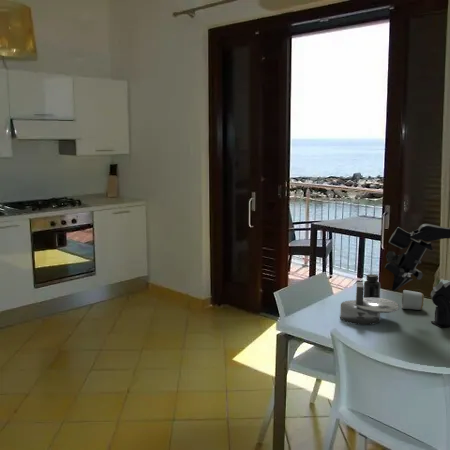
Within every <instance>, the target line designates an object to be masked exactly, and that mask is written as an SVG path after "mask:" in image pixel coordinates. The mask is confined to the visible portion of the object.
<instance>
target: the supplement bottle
mask: <svg viewBox="0 0 450 450" xmlns="http://www.w3.org/2000/svg"><path fill="white" fill-rule="evenodd" d="M363 286H364V290H363V298H367V297H374V298H381V282H380V281H379V275H378V274H373V273H369V274H366V280H365V281H364V282H363Z"/></svg>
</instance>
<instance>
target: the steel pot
mask: <svg viewBox="0 0 450 450" xmlns="http://www.w3.org/2000/svg"><path fill="white" fill-rule="evenodd" d="M355 301H356V299H355V300H353V299H352V300H346V301H345V300H344V301H342V302H341V303H340V313H339V317H340V319H341V320H342V321H343V322H346V323H349V324H353V325H354V324H355V325H362V326H366V325H367V326H368V325H375V324H378V323H380V321H381V313H376V312H369V311H365V310H362V309H359V308H357V307H356V306H355Z"/></svg>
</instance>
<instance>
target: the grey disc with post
mask: <svg viewBox="0 0 450 450" xmlns="http://www.w3.org/2000/svg"><path fill="white" fill-rule="evenodd" d="M355 291H356V292H355V300H356V301H355V306H356V307H357V308H359V309H362V310H365V311H369V312H376V313H380V314H390V313H395V312H397V311H398V310H399V304H398V302H396V301H394V300H391V299H388V298H382V297H380V298H374V297H367V298H364V282H363V281H356V289H355Z"/></svg>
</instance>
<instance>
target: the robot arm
mask: <svg viewBox="0 0 450 450" xmlns="http://www.w3.org/2000/svg"><path fill="white" fill-rule="evenodd" d="M443 239H448V240H449V239H450V227H444V226H440V225H436V224H431V223H423V224H421V225H420V226H419V227H418V229H416V230H414V231H413V230H412V231H411V232H408V231H406V230H404V229H403V228H401V227H399V226H398V227H397V228H396V229H395V230H394V232H393V233H392V234H391V236H390V238H389V240H388V243H389V244H391V245H393V246H394V247H397V248H399V249H400V250H403V249H407V250H406V252H402V253H401V254H399V255H398V254H396V252H395V251H388V252H387V254H386V255H385V258H386V262H387V263H386V264H385V266H384V269H386V270H387V271H389V272H390V273H392V274H393V284H392V287H391V289H392V291H397V290H399V289H400V288H401V287H403V286H404V285H406V284H407V283H409V282H410V281H413V278H412V276H414V277H416V279H417V280H422V278H423V276H424V274H423V272H422V271H421V270H419V269H417V266H418V265H420V264H422V260H421V259H422V258H423V255H424V254H425V252H426V251H427V250H429V251H433V245H432V242H434V241H438V240H443ZM431 241H432V242H431ZM430 298H431V300H432V303H433V305H435V310H434V320H431V321H430V322H431V323H432V324H433V325H436V326H437V327H439V328H441V329H444V328H450V281H447V282H446V283H443V281H439V283H438V284H437V285H435V286H433V287H432V290H431V292H430Z"/></svg>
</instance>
